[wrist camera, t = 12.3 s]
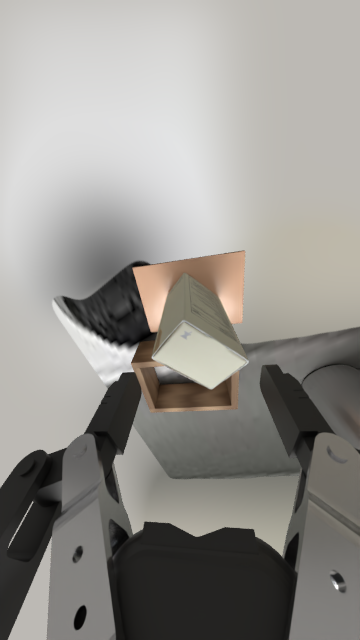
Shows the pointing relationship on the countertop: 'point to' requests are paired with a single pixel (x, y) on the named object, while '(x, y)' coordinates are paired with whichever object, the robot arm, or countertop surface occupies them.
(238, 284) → the terracotta tile
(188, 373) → the skincare box
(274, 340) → the countertop surface
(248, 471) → the countertop surface
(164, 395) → the frame
